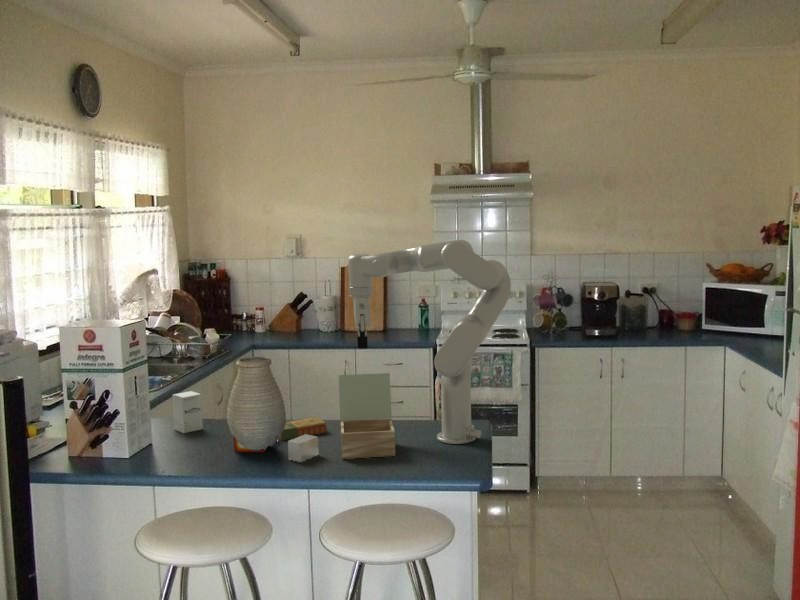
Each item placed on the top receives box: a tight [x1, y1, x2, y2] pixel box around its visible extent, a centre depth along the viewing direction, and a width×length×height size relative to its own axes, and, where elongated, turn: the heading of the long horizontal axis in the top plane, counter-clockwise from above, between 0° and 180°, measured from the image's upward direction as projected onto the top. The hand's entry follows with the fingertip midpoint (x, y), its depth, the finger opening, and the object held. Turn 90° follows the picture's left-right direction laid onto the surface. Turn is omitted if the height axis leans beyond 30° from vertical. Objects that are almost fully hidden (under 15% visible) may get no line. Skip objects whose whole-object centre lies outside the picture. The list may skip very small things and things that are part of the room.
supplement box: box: [171, 390, 204, 434], centre depth 270 cm, size 7×7×13 cm
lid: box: [338, 372, 393, 422], centre depth 251 cm, size 14×16×1 cm
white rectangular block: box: [287, 434, 320, 463], centre depth 237 cm, size 5×8×6 cm, turn 145°
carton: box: [279, 416, 327, 441], centre depth 262 cm, size 8×16×4 cm, turn 118°
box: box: [340, 418, 396, 460], centre depth 242 cm, size 14×16×8 cm
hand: (362, 347), depth 258 cm, fingers closed
